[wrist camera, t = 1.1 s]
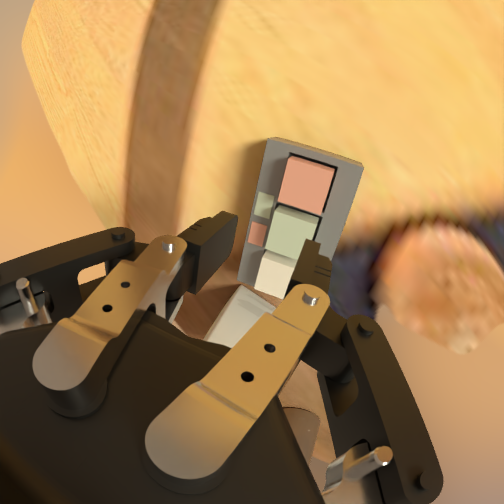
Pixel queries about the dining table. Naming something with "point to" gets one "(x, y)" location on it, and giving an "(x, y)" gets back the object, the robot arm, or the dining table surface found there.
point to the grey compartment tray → (267, 203)
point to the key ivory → (274, 274)
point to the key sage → (290, 231)
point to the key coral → (305, 184)
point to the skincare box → (237, 317)
